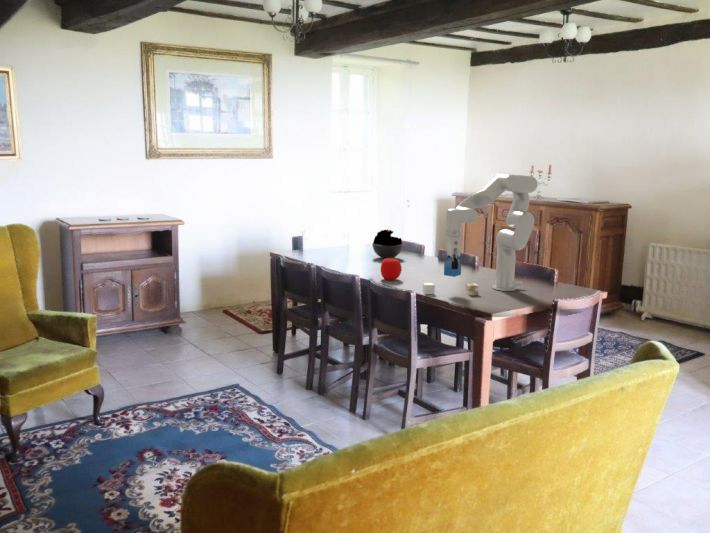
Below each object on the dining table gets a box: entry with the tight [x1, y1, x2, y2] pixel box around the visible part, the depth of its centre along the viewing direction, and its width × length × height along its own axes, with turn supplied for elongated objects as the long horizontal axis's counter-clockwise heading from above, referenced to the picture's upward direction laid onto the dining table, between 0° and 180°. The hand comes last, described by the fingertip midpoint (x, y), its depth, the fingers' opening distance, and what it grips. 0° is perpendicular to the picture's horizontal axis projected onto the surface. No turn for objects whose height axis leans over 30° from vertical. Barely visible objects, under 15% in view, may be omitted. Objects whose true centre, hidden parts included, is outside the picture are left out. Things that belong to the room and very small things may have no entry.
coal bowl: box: [371, 229, 404, 260], centre depth 417 cm, size 20×20×19 cm
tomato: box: [380, 257, 402, 281], centre depth 353 cm, size 12×12×13 cm
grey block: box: [422, 282, 436, 295], centre depth 323 cm, size 5×5×5 cm
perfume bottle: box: [443, 256, 462, 278], centre depth 321 cm, size 6×6×12 cm
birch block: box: [465, 283, 479, 296], centre depth 324 cm, size 5×5×5 cm
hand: (452, 267), depth 322 cm, fingers closed on perfume bottle, 9 cm apart
